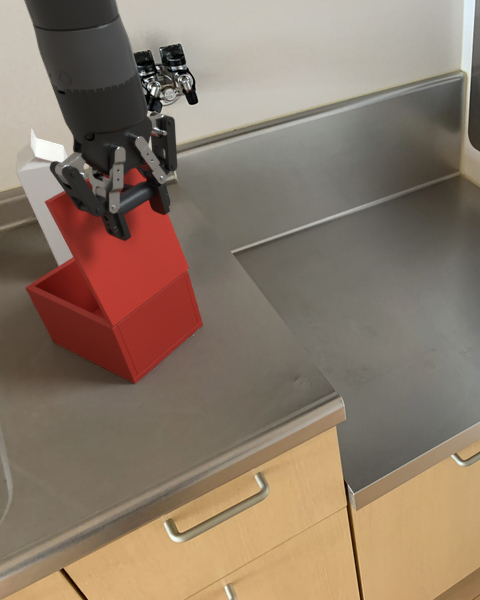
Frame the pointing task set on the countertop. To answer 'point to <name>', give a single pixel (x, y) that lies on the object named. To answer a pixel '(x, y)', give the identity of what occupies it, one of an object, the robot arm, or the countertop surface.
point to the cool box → (124, 335)
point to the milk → (43, 188)
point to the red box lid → (121, 249)
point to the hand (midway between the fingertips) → (141, 223)
